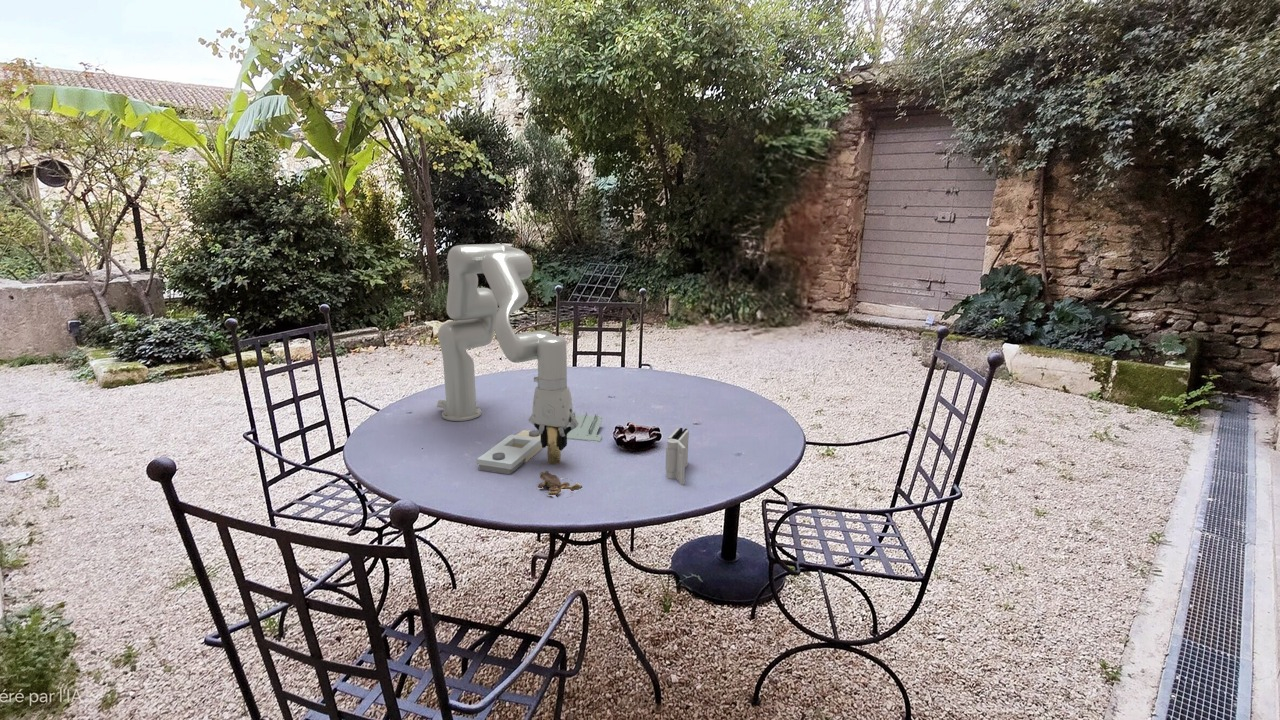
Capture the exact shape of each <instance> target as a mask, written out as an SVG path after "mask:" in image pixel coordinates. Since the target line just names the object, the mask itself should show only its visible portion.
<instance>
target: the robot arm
mask: <svg viewBox="0 0 1280 720" xmlns="http://www.w3.org/2000/svg"><path fill="white" fill-rule="evenodd" d="M446 258H447V260H446V262H447V263H446V264H447V269H448V270H447V271H448V274H449V275H448V276H449V277H448V286H447V295H446V313H447V315H448V317H449V318H450V319H451V321H448V322H445V323H443V324H441V326H440V327H439V328H438V332H437V338H438V343H439V346H440V350H441V351H440V352H441V355H442V362H443V363H442V364H443V375H444V376H443V377H444V391H445V392H444V393H445V394H444V395H445V400H444V399H439V400H438V401H437V404H436V407H437V408H439V409H442V408H443V410H442V412H441V417H442V419H444V420H447V421H452V422H463V421H465V422H466V421H470V420H474V419H476V418H478V417H480V416H481V415H482V409H481V408H480V407H478V406H477V393H476V391H477V390H476V375H475V374H476V373H475V371H476V370H475V362H474V359H473V358H472V357H471V356H470V355H469V354H468V352H467V350H470V349H476V348H480V347H486V346H489V345H490V344H491V343H492V342H493V339H494V336H495V337H496V340H497V342H498V345H499V346H500V348H501V351H502V352H503V354H504V356H505V357H506V359H508V360H509V361H510V362H511V363H514V364H517V363H518V364H519V363H525V362H529V361H534V360H536V361H537V376H534V377H533V382H535V383H537V386H536V387H535V388H534V393H533V399H532V400H533V401H532V413H531V415H530V417H529V418H528V422H529V423H531V424H532V425H533V427H534V428H535V429H536V430H537V431H539V434H540V435H541V444H542V449H545V448H546V447H547V426H553V427H559V430H560V436H559V450H561V452H562V451H563V450H564V449H565V448H566V447H567V445H568V439H567V433H569V432H570V431H571V430H573V429H575V428H576V427H577V426H578V425H579V423H578V422H577V420H576V419H575V417H574V416H573V413H574V411H573V410H574V409H573V400H572V396H571V395H572V394H571V390H570V387H568V372H567V371H568V363H567V362H568V361H567V340H566V339H565V338H564V337H563V336H560V335H554V334H552V332H549V331H548V330H535V331H527V332H523V333H515V332H514V329H513V327H512V325H511V322H510V315H512V314H514V313H515V312H516V311H518V310H520V309H521V308H523V306H524V305H525V304H526V303H527V302H528V301H529V294H528V292H527V290H526V288H525V286H524V283H523V282H522V280H527V279H529V278H530V277H531V276H532V275H533V269H534V267H533V266H534V265H533V262H532V259H531V257H530V256H529V254H527V253H526V252H525V251H524V250H522V249H520V248H517V247H513V246H510V245H507V244H503V243H484V244H483V243H479V244H478V243H476V244H473V243H472V244H458V245H454V246H452V247H451V248H450V249H449V251H448V253H447V257H446ZM477 274H483V275H484V276H485V280H486V281H487V284H488V285H489V288H488V287H479V277H478V275H477ZM569 422H570V423H571V425H570V426H569V427H568V426H567V425H568V424H569Z"/></svg>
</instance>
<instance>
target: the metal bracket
mask: <svg viewBox="0 0 1280 720" xmlns="http://www.w3.org/2000/svg"><path fill="white" fill-rule="evenodd" d="M573 416H574V417H575V419H576V420H577V422H578V423H579V425H578V426H577V427H576V428H575V429H573V430H571V431H570V432H569V433H567V440H575V441H586V442H590V443H591V442H592V443H600V442H601V440H602V438H603V435H602V434H598V431H599V430H600V426H601V424H602V422H603V419H604V417H603V416H598V413H597V414H596V413H595V414H594V415H588V412H587V411H586V412H585V414H584V415H583V414H576V412H574V411H573ZM570 425H571V423H570V422H569V424H568V425H567V426H568V427H569V426H570Z"/></svg>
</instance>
